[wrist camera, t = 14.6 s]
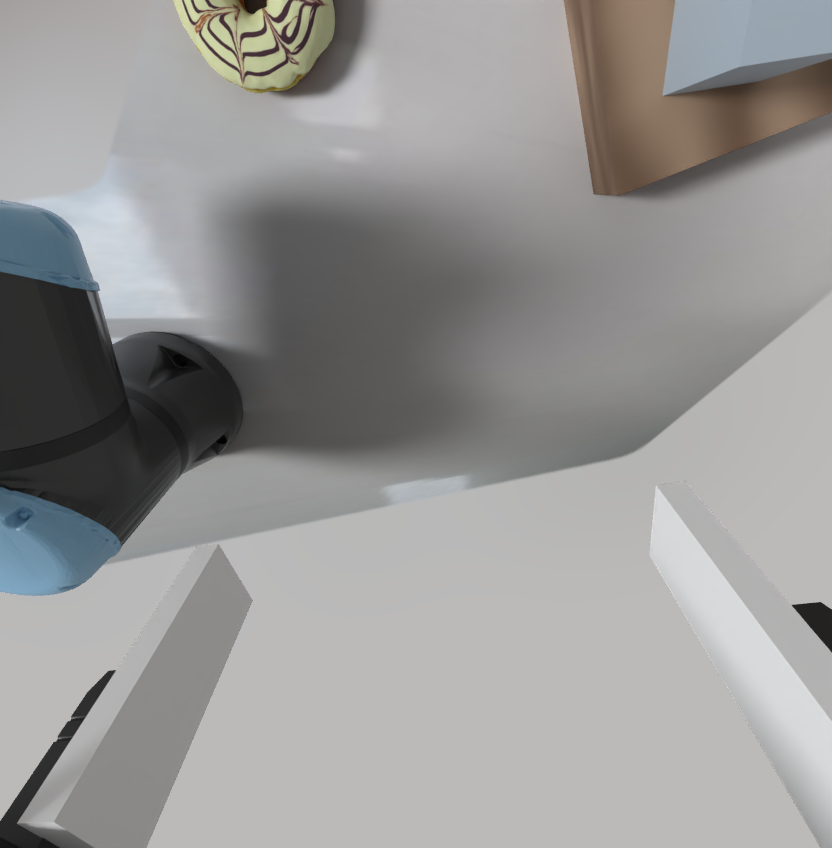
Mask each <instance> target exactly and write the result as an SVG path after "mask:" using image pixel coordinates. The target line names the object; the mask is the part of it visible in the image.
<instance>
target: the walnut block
mask: <svg viewBox="0 0 832 848" xmlns="http://www.w3.org/2000/svg"><path fill="white" fill-rule="evenodd" d="M564 5H565V11H566V18H567V24H568V31H569V37H570V44H571V50H572V57H573V63H574V70H575V76H576V82H577V89H578V95H579V102H580V108H581V115H582V121H583V128H584V134H585V141H586V147H587V154H588V160H589V166H590V173H591V179H592V186H593V192H594V194H600V195H616V196H620V195H623V194H625V193H628V192H630V191H633V190H635V189H638V188H640V187H643V186H645V185H648V184H650V183H653V182H655V181H658V180H661V179H663V178H666V177H668V176H671V175H673V174H676V173H678V172H681V171H683V170H686V169H688V168H691V167H693V166H696V165H699V164H701V163H704V162H706V161H709V160H711V159H714V158H716V157H719V156H721V155H724V154H726V153H729V152H731V151H734V150H737V149H739V148H742V147H744V146H747V145H749V144H752V143H754V142H757V141H759V140H762V139H764V138H767V137H769V136H772V135H775V134H777V133H780V132H782V131H785V130H787V129H790V128H792V127H795V126H797V125H800V124H802V123H805V122H807V121H810V120H813V119H815V118H818V117H820V116H823V115H825V114H828V113H830V112H832V59H829V60H826V61H823V62H820V63H816V64H813V65H810V66H807V67H804V68H800V69H797V70H794V71H791V72H788V73H785V74H781V75H778V76H775V77H772V78H769V79H765V80H762V81H759V82H753V83H746V84H739V85H733V86H726V87H719V88H713V89H706V90H700V91H693V92H686V93H680V94H673V95H667V96H662V95H663V88H664V81H665V73H666V66H667V58H668V51H669V44H670V36H671V29H672V21H673V14H674V7H675V0H564Z"/></svg>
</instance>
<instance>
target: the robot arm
mask: <svg viewBox="0 0 832 848" xmlns="http://www.w3.org/2000/svg"><path fill="white" fill-rule="evenodd" d="M98 291H100V288H99V285H98V283H97V282H95V281H94V280H93V277H92V274H91V272H90V269H89V266H88V264H87V261H86V258H85V255H84V252H83V249H82V246H81V243H80V240H79V238H78V236H77V234H76V232H75V231H74V230H73V228H72V227H71V226H70V225H69V224H68V223H67V222H66V221H65V220H64V219H62V218H61V217H59V216H58V215H56V214H54V213H52V212H50V211H48V210H45V209H42V208H39V207H35V206H31V205H26V204H20V203H15V202H9V201H3V200H0V592H5V593H11V594H19V595H32V596H37V595H38V596H39V595H40V596H41V595H52V594H58V593H62V592H66V591H69V590H71V589H74V588H76V587H78V586H80V585H81V584H82V583H84V582H86V581H87V580H88V579H89V578H91V577H92V576H93V574H94V573H95V572H96V571H97V570H98V569H99V568H100V567H101V566H102V565H103V564H104V563H105V562H106V561H107V560H108V559H109V558H111V557H113V556H114V555H116V554H117V553H118V552H119V551H120V549H121V546H122V545H123V544H124V543H125V541H126V540H127V539H128V538H129V537H130V535H131V534H132V533H133V532H134V531H135V529H136V528H137V527H138V526H139V525H140V523H141V522H142V521H143V520H144V519H145V517H146V516H147V515H148V514H149V513H150V511H151V510H152V509H153V508H154V507H155V505H156V504H157V503H158V502H159V501H160V499H161V498H162V497H163V496H164V495H165V493H166V492H167V491H168V490H169V489H170V487H171V486H172V485H173V484H174V483H175V481H176V480H177V479H178V478H179V477H180V475H181V474H183V473H185V472H187V471H189V470H191V469H193V468H195V467H197V466H199V465H201V464H203V463H205V462H207V461H209V460H211V459H213V458H214V457H216V456H217V455H219V454H220V453H221V452H222V451H223V450H224V449H225V448H226V447H227V446H228V445H229V443H230V442H231V441H232V440H233V438H234V437H235V436H236V434H237V432H238V430H239V428H240V425H241V422H242V414H243V409H242V401H241V397H240V394H239V391H238V389H237V386H236V384H235V382H234V381H233V379H232V377H231V376H230V374H229V373H228V372H227V370H226V369H225V368H224V367H223V366H222V364H221V363H220V362H219V361H218V360H217V359H216V358H214V357H213V356H212V355H211V354H210V353H208V352H207V351H206V350H204V349H203V348H201V347H200V346H198V345H196V344H194V343H192V342H190V341H188V340H186V339H184V338H181V337H178V336H175V335H171V334H166V333H159V332H145V333H138V334H134V335H131V336H129V337H126V338H124V339H122V340H120V341H118V342H116V343H114V344H113V345H112V342H111V338H110V334H109V331H108V327H107V323H106V320H105V316H104V312H103V309H102V305H101V302H100V298H99V294H98ZM649 555H650V557H651V559H652V560H653V562H654V564H655V566H656V568H657V569H658V571H659V573H660V574H661V576H662V578H663V579H664V581H665V583H666V584H667V586H668V588H669V590H670V591H671V593H672V595H673V597H674V598H675V600H676V601H677V603H678V605H679V607H680V609H681V610H682V612H683V614H684V615H685V617H686V619H687V620H688V622H689V624H690V626H691V627H692V629H693V631H694V632H695V634H696V636H697V638H698V639H699V641H700V643H701V644H702V646H703V648H704V650H705V651H706V653H707V655H708V656H709V658H710V660H711V661H712V663H713V665H714V667H715V668H716V670H717V672H718V673H719V675H720V677H721V679H722V680H723V682H724V684H725V685H726V687H727V689H728V691H729V692H730V694H731V696H732V697H733V699H734V701H735V702H736V704H737V706H738V708H739V709H740V711H741V713H742V714H743V716H744V718H745V719H746V721H747V723H748V725H749V726H750V728H751V730H752V731H753V733H754V735H755V737H756V738H757V740H758V742H759V743H760V745H761V747H762V749H763V750H764V752H765V754H766V755H767V757H768V759H769V760H770V762H771V764H772V766H773V767H774V769H775V771H776V772H777V774H778V776H779V778H780V779H781V781H782V783H783V784H784V786H785V788H786V789H787V791H788V793H789V795H790V796H791V798H792V800H793V801H794V803H795V805H796V807H797V808H798V810H799V812H800V813H801V815H802V817H803V819H804V820H805V822H806V824H807V825H808V827H809V829H810V831H811V832H812V834H813V835H814V837H815V839H816V841H817V843H818V844H819V846H820V848H832V609H830V608H828V607H827V606H825V605H824V604H823V603H821V602H818V603H807V604H797V605H791V604H790V603H789V602H788V601H787V600H786V598H785V597H784V596H783V595H782V594H781V593H780V591H779V590H778V589H777V588H776V587H775V585H774V584H773V583H772V582H771V581H770V580H769V579H768V577H767V576H766V575H765V574H764V573H763V572H762V570H761V569H760V568H759V567H758V566H757V565H756V563H755V562H754V561H753V560H752V559H751V557H750V556H749V555H748V554H747V553H746V551H745V550H744V549H743V548H742V547H741V546H740V544H739V543H738V542H737V541H736V540H735V539H734V537H733V536H732V535H731V534H730V533H729V532H728V530H727V529H726V528H725V527H724V526H723V525H722V523H721V522H720V521H719V520H718V519H717V518H716V516H715V515H714V514H713V513H712V512H711V510H709V508H708V507H707V506H706V505H705V504H704V502H703V501H702V500H701V499H700V498H699V496H698V495H697V494H696V493H695V492H694V491H693V489H692V488H691V487H690V486H689V485H688V484H687V483H686V481H684V482H677V483H669V484H662V485H656V491H655V501H654V512H653V522H652V533H651V543H650V554H649ZM251 603H252V599H251V597H250V596H249V594H248V592H247V590H246V589H245V587H244V585H243V584H242V582H241V580H240V579H239V577H238V575H237V574H236V572H235V571H234V569H233V567H232V566H231V564H230V562H229V560H228V559H227V557H226V555H225V554H224V552H223V551H222V549H221V548H220V546H219V544H213V545H206V546H198V547H196V548H195V550H194V551H193V553H192V554H191V556H190V557H189V559H188V561H187V562H186V564H185V565H184V567H183V568H182V570H181V571H180V573H179V575H178V576H177V578H176V579H175V580H174V582H173V584H172V585H171V587H170V588H169V590H168V591H167V593H166V594H165V596H164V597H163V599H162V601H161V602H160V604H159V605H158V607H157V608H156V610H155V611H154V613H153V614H152V616H151V618H150V619H149V621H148V622H147V624H146V625H145V627H144V628H143V630H142V631H141V633H140V634H139V636H138V638H137V639H136V641H135V642H134V644H133V645H132V647H131V648H130V650H129V651H128V653H127V654H126V656H125V658H124V659H123V661H122V662H121V664H120V665H119V667H118V668H117V670H113V671H108V672H107V673H106V674H105V675H104V676H103V677H102V678H101V679H100V680H99V681H98V682H97V683H96V684H95V685H94V686H93V687H92V688H91V689H90V690H89V691H88V692H87V694H86V695H85V697H84V698H83V700H82V701H81V703H80V704H79V706H78V707H77V709H76V710H75V712H74V713H73V715H72V716H71V717H72V718H71V721H68V722H67V724H66V725H65V727H64V728H63V729H62V731H61V732H60V734H59V735H58V740H57V741H56V742H54V743H53V744H52V746H51V747H50V749H49V750H48V752H47V753H46V755H45V756H44V758H43V759H42V761H41V762H40V763H39V765H38V766H37V768H36V769H35V771H34V772H33V774H32V775H31V777H30V779H29V780H28V781H27V783H26V784H25V786H24V787H23V788H22V790H21V792H20V793H19V795H18V796H17V798H16V799H15V800H14V802H13V803H12V805H11V806H10V808H9V809H8V811H7V812H6V814H5V815H4V817H3V818H2V819H1V821H0V848H146V847H147V845H148V842H149V840H150V838H151V836H152V833H153V831H154V829H155V826H156V824H157V822H158V819H159V817H160V815H161V812H162V810H163V808H164V805H165V803H166V801H167V798H168V796H169V793H170V791H171V789H172V787H173V784H174V782H175V780H176V777H177V775H178V773H179V770H180V768H181V766H182V763H183V761H184V759H185V756H186V754H187V752H188V750H189V747H190V745H191V743H192V740H193V738H194V735H195V733H196V731H197V728H198V726H199V724H200V722H201V719H202V717H203V715H204V712H205V710H206V707H207V705H208V703H209V701H210V698H211V696H212V694H213V691H214V689H215V687H216V684H217V682H218V680H219V677H220V675H221V673H222V670H223V668H224V666H225V663H226V661H227V659H228V657H229V654H230V652H231V650H232V647H233V645H234V643H235V640H236V638H237V635H238V633H239V631H240V629H241V626H242V624H243V622H244V619H245V617H246V615H247V612H248V610H249V608H250V605H251Z"/></svg>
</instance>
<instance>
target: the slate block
mask: <svg viewBox="0 0 832 848" xmlns="http://www.w3.org/2000/svg"><path fill="white" fill-rule="evenodd" d="M829 59H832V0H675V7H674V14H673V21H672V29H671V36H670V44H669V51H668V58H667V66H666V73H665V81H664V88H663V95H662V96H667V95H673V94H680V93H686V92H693V91H700V90H706V89H713V88H719V87H726V86H733V85H739V84H746V83H753V82H759V81H762V80H765V79H769V78H772V77H775V76H778V75H781V74H785V73H788V72H791V71H794V70H797V69H800V68H804V67H807V66H810V65H813V64H816V63H820V62H823V61H826V60H829Z"/></svg>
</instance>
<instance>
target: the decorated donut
mask: <svg viewBox="0 0 832 848" xmlns="http://www.w3.org/2000/svg"><path fill="white" fill-rule="evenodd" d="M173 2H174V4H175V7H176V9H177V12H178V14H179V17H180V19H181V22H182V24H183V26H184V27H185V29H186V31H187V32H188V33H189V35H190V37H191V38H192V40H193V41H194V43H195V44H196V46H197V48H198V49H199V51H200V52H201V54H203V56H204V58H205V59H206V61H207V62H208V63H209V65H210V66H211V67H212V68H213V69H214V70H216V71H217V72H218V73H219V74H220V75H221V76H222V77H224V78H225V79H226V80H228V81H230V82H232V83H235V84H237V85H239V86H241V87H242V88H244V89H246V90H247V91H250V92H254V93H263V92H267V91H281V90H287V89H290V88H291V87H293V86H295V85H296V84H297V83H298V82H299V81H300V80H301V79H302V78H303V77H304V76H305V75H306V74H307V73H308V72H309V71H310V70H311V68H312V67H313V66H314V64H315V62H316V60H317V58H318V57H319V56H320V54H321V53H322V52H323V51H324V50H325V49H326V48H327V47H328V45H329V43H330V41H331V40H332V38H333V34H334V28H335V11H334V5H333V0H267V7H265V8H262V9H259V10H257V11H256V13H255V14H250V13H248V12H247V11H246V8H245V5H244V0H173Z"/></svg>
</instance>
